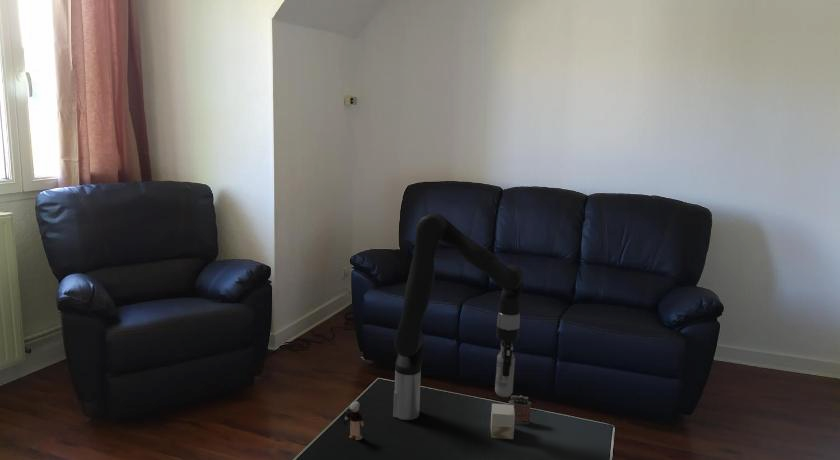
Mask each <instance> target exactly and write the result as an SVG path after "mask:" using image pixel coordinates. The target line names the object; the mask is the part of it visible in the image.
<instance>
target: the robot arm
mask: <svg viewBox="0 0 840 460" xmlns="http://www.w3.org/2000/svg"><path fill="white" fill-rule="evenodd" d="M415 233H416V234H415V243H414V244H415V245H414V252H413V255H412V260H411V264H410V267H409V273H408V277H407V282H406V286H405V293H404V298H403V305H402V313H401V316H400V317H401V318H400V321H399V324H398V327H397V331H396V334H395V337H394V341H393V343H394V349H395V351H396V353H397V356H396V357H397V358H396V361H395V366H394V367H395V369H394V370H395V371H394V391H393V404H392V406H393V408H392V410H393V412H392V413H393V414H392V417H393V418H397V419H399V420H404V421H412V420H415V419H418V418H419V416H420V405H421V404H420V403H421V400H420V399H421V376H422V375H421V374H422V373H421V372H422V364H423V357H424V342H425V341H424V334H423V331H422V330H421V326H422V322H423V319H424V316H425V314H426V312H427V309H428V306H429V303H430V300H431V298H432V294H433V289H434V284H435V277H436V275H435V274H436V273H435V257H436V256H435V255H436V252H437V248H438V245H439V242H443V243H444V244H447V245H448V246H450V247H451V248H453V249H454V250H455V251H457V252H458V253H459V254H460V255H461V256H462V257H463V259H465V260H466V261H467V262H468V263H469V264H470V265H472V266H473V267H475V268H477V270H479V271H480V272H483V273H484V274H486V275H487V276H488V277H489V278H490V279H491V280H492V281H493V282H494V283H496V284H497V285H498V286H500V287H501V294H500V296H499V301H498V313H497V320H496V321H497V322H496V335H495V337H496V338H497V340H500V341H501V342H500V351H501V350H502V359H503V376H509V371H510V367H511V359H512V352H513V350H514V345H513V342H516V341H518V340H519V338H520V337H519V336H520V325H521V324H520V323H521V317H520V316H521V315H520V313H521V296H522V290H523V286H524V272H523V270H522V268H520V267H519V266H518V265H508V266H507V265H506V264H505V263H503V262H502V261H500V257H498V255H496V254H494V253H493V252H492V251H490V250H488V249H487V248H486V247H483V246H482V245H481V244H479V243H477V242H476V241H474V240H473V239H472V238H470V237H469V236H467V235H466V234H464V233H463V232H462V231H461V230H460V229H458V228H457V227H456V226H455V225H454V224H452V223H451V222H450V221H449V220H448V219H447V218H446V217H444V215H442V214H440V213H437V212H432V213H429V214H426V215H424V216H422V217H421V218H420V220H419V221H418V223H417V225H416V231H415ZM503 354H504V355H503ZM506 360H509V362H505V361H506Z"/></svg>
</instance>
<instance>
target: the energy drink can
mask: <svg viewBox="0 0 840 460" xmlns="http://www.w3.org/2000/svg"><path fill="white" fill-rule="evenodd" d="M503 355H504V354H503ZM496 356H497V357H496V371H495V382H494V386H495V387H494V392H495V393H496V394H495V395H497V396H499V397H501V398H509V397H511V396H512V394H513V391H514V378H515V377H514V375H515V366H516V365H515V363H516V357H515V355H514V352H513V351H512V359H511V367H510V371H509V376H503V359H502V350H501V349H500V350H499V353H498V355H496ZM505 362H509V360H506V361H505Z"/></svg>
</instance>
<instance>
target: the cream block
mask: <svg viewBox="0 0 840 460" xmlns="http://www.w3.org/2000/svg"><path fill="white" fill-rule="evenodd" d="M490 415H491V416H490V420H491V419H492V426H500V427H513V428H514V429H515V424H514V421H515V413H514V405H509V404H505V403H503V404H502V403H491V414H490Z"/></svg>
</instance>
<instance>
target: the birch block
mask: <svg viewBox="0 0 840 460" xmlns="http://www.w3.org/2000/svg"><path fill="white" fill-rule="evenodd" d="M514 435H515V427H514V428H513V427H500V426H492V419H491V418H490V438H493V439H505V440H506V439H507V440H514Z"/></svg>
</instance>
